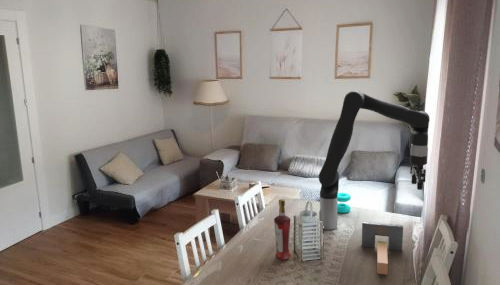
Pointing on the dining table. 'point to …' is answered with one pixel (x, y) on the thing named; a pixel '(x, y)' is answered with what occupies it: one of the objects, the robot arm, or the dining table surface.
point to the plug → (382, 257)
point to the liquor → (282, 233)
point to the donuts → (341, 206)
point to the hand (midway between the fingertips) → (416, 186)
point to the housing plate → (382, 234)
